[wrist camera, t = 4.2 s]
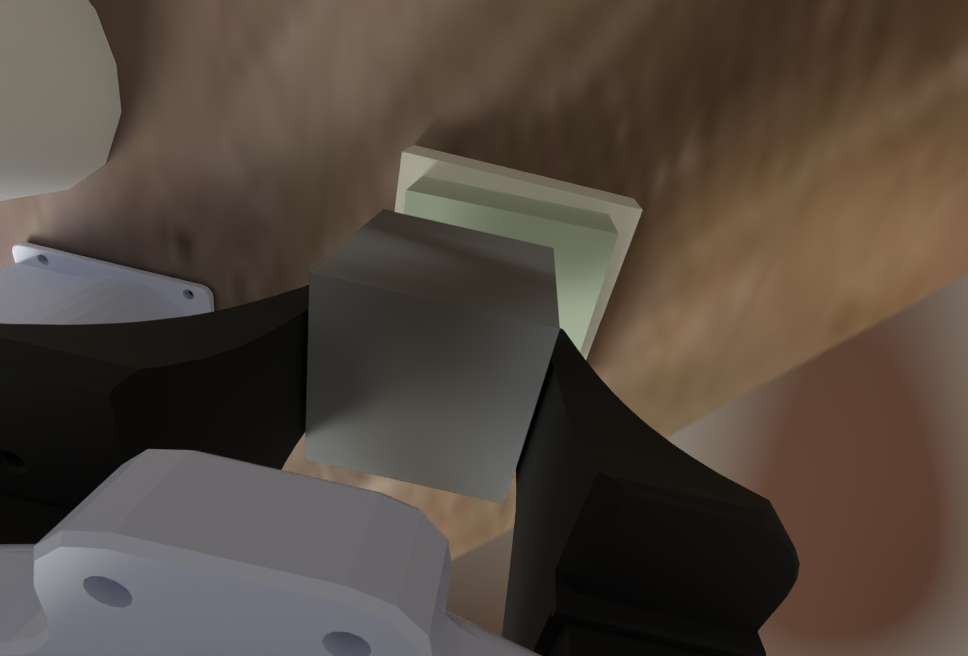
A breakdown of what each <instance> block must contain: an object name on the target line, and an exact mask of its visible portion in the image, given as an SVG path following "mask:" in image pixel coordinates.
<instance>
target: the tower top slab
mask: <svg viewBox="0 0 968 656" xmlns="http://www.w3.org/2000/svg"><path fill="white" fill-rule="evenodd" d="M404 214H406V215H411V216H415V217H420V218H424V219H429V220H433V221H437V222H442V223H446V224H451V225H455V226H459V227H464V228H468V229H473V230H477V231H481V232H486V233H490V234H495V235H499V236H503V237H508V238H512V239H517V240H521V241H525V242H530V243H534V244H539V245H543V246H547V247H552V248H554V261H555V273H556V286H557V298H558V311H559V324H560V328H561V329H563V330H564V331H565V332H566V333H567V335H568V336H569V338H570V339H571V340H572V342H573V343H574V345H575V346H576V347H577V349H578V350H579V352H580V351H581V348H582V345H583V342H584V339H585V336H586V333H587V330H588V326H589V323H590V320H591V317H592V314H593V311H594V308H595V305H596V302H597V299H598V296H599V293H600V290H601V286H602V283H603V280H604V277H605V274H606V271H607V268H608V265H609V262H610V259H611V256H612V253H613V250H614V247H615V243H616V240H617V237H618V232H617V230H616V228H615V226H614V224H613V222H612V220H611V218H610V216H609V214H605V213H600V212H595V211H591V210H586V209H581V208H576V207H571V206H566V205H562V204H557V203H552V202H547V201H542V200H538V199H533V198H528V197H523V196H518V195H513V194H509V193H504V192H499V191H494V190H489V189H484V188H480V187H475V186H470V185H465V184H460V183H455V182H451V181H446V180H441V179H436V178H431V177H426V176H422V177H420V178H419V179H418V180H417V181H416V182H415V183H413V184H412V185H411V186H410V187H409V188H408V189H406V194H405V204H404Z"/></svg>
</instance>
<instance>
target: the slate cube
mask: <svg viewBox="0 0 968 656" xmlns="http://www.w3.org/2000/svg"><path fill="white" fill-rule="evenodd" d="M559 330H560V324H559V311H558V298H557V286H556V273H555V261H554V248H552V247H547V246H543V245H539V244H534V243H530V242H525V241H521V240H517V239H512V238H508V237H503V236H499V235H495V234H490V233H486V232H481V231H477V230H473V229H468V228H464V227H459V226H455V225H451V224H446V223H442V222H437V221H433V220H429V219H424V218H420V217H415V216H411V215H406V214H402V213H398V212H393V211H389V210H384V209H383V210H382V211H381V212H380V213H378V214H377V215H376V216H375V217H374V218H373V219H371V220H370V221H369V222H368V223H367V224H366V225H364V226H363V227H362V228H361V229H360V230H358V231H357V232H356V233H355V234H354V235H353V236H351V237H350V238H349V239H348V240H347V241H346V242H344V243H343V244H342V245H341V246H340V247H338V248H337V249H336V250H335V251H334V252H333V253H331V254H330V255H329V256H328V257H327V258H326V259H324V260H323V261H322V262H321V263H320V264H318V265H317V266H316V267H315V268H314V269H313V270H311V271H310V277H309V316H308V356H307V396H306V436H305V459H307V460H311V461H316V462H320V463H325V464H329V465H333V466H338V467H342V468H347V469H351V470H356V471H360V472H364V473H369V474H373V475H378V476H382V477H387V478H391V479H395V480H400V481H404V482H409V483H413V484H418V485H422V486H426V487H431V488H435V489H440V490H444V491H449V492H453V493H457V494H462V495H466V496H471V497H475V498H480V499H484V500H488V501H493V502H497V503H502V504H505V501H506V498H507V495H508V492H509V488H510V485H511V482H512V479H513V476H514V473H515V469H516V466H517V463H518V460H519V457H520V454H521V450H522V447H523V444H524V441H525V438H526V435H527V431H528V428H529V425H530V422H531V419H532V416H533V412H534V409H535V406H536V403H537V400H538V397H539V393H540V390H541V387H542V384H543V381H544V378H545V374H546V371H547V368H548V365H549V362H550V359H551V355H552V352H553V349H554V346H555V343H556V340H557V336H558V333H559Z"/></svg>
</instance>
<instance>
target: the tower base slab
mask: <svg viewBox="0 0 968 656" xmlns="http://www.w3.org/2000/svg"><path fill="white" fill-rule="evenodd" d="M422 176H426V177H431V178H436V179H441V180H446V181H451V182H455V183H460V184H465V185H470V186H475V187H480V188H484V189H489V190H494V191H499V192H504V193H509V194H513V195H518V196H523V197H528V198H533V199H538V200H542V201H547V202H552V203H557V204H562V205H566V206H571V207H576V208H581V209H586V210H591V211H595V212H600V213H605V214H609V216H610V218H611V220H612V222H613V224H614V226H615V228H616V230H617V232H618V237H617V240H616V243H615V247H614V250H613V253H612V256H611V259H610V262H609V265H608V268H607V271H606V274H605V277H604V280H603V283H602V286H601V290H600V293H599V296H598V299H597V302H596V305H595V308H594V311H593V314H592V317H591V320H590V323H589V326H588V330H587V333H586V336H585V339H584V342H583V345H582V348H581V351H580V353H581V354H582V356H583V357H584V358H585V360H586V359H587V356H588V354H589V351H590V348H591V346H592V343H593V340H594V338H595V335H596V332H597V330H598V327H599V325H600V322H601V319H602V317H603V314H604V311H605V309H606V306H607V303H608V301H609V298H610V295H611V293H612V290H613V288H614V285H615V282H616V280H617V277H618V274H619V272H620V269H621V266H622V264H623V261H624V258H625V256H626V253H627V250H628V248H629V245H630V243H631V240H632V237H633V235H634V232H635V229H636V227H637V224H638V221H639V219H640V216H641V213H642V211H643V210H642V208H641V207H640V206H639V204H638V203H637V202H636V201H635V199H634V198H630V197H626V196H622V195H618V194H614V193H610V192H605V191H601V190H597V189H593V188H589V187H585V186H581V185H577V184H573V183H569V182H564V181H560V180H556V179H552V178H548V177H544V176H540V175H536V174H532V173H528V172H523V171H519V170H515V169H511V168H507V167H503V166H499V165H495V164H491V163H486V162H482V161H478V160H474V159H470V158H466V157H462V156H458V155H454V154H450V153H445V152H441V151H437V150H433V149H429V148H425V147H421V146H417V145H413V146H411V147H409V148H407V149H406V150H404V151H402V155H401V163H400V171H399V179H398V187H397V195H396V203H395V211H394V212H398V213H402V214H404V204H405V194H406V189H408V188H409V187H410V186H411V185H412V184H413V183H415V182H416V181H417V180H418V179H419V178H420V177H422Z"/></svg>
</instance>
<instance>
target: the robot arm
mask: <svg viewBox="0 0 968 656" xmlns="http://www.w3.org/2000/svg"><path fill="white" fill-rule="evenodd" d="M12 250H13V255H14V259H15V263H16V264H14V265H11V266H8V267H6V268H3V269H0V656H766V652H765V650H764V647H763V645H762V642H761V639H760V637H759V634H758V632H757V631H758V630H759V629H760V627H761V626H762V625H763V624H764V623H765V622H766V620H767V619H768V618H769V617H770V616H771V614H772V613H773V612H774V611H775V610H776V609H777V607H778V606H779V605H780V604H781V603H782V602H783V600H784V599H785V598H786V597H787V595H788V594H789V592H790V590H791V589H792V587H793V585H794V583H795V582H796V580H797V577H798V570H799V560H798V556H797V553H796V550H795V547H794V545H793V543H792V541H791V539H790V537H789V536H788V534H787V532H786V530H785V528H784V526H783V524H782V523H781V521H780V519H779V517H778V516H777V513H776V512H775V510H774V508H773V506H772V505H771V503H770V501H769V500H767V499H766V498H764V497H762V496H760V495H758V494H756V493H754V492H752V491H750V490H749V489H746V488H745V487H743V486H741V485H739V484H737V483H735V482H733V481H732V480H730V479H728V478H726V477H724V476H722V475H720V474H719V473H717V472H715V471H714V470H712V469H710V468H709V467H707V466H705V465H704V464H702V463H701V462H699V461H697V460H696V459H694V458H693V457H691V456H690V455H688V454H687V453H685V452H684V451H682V450H681V449H679V448H678V447H676V446H675V445H673V444H672V443H671V442H669V441H668V440H667V439H665V438H664V437H663V436H662V435H660V434H659V433H658V432H656V431H655V430H654V429H652V428H651V427H650V426H649V425H647V424H646V423H645V422H644V421H643V420H641V419H640V418H639V417H638V416H637V415H636V414H635V413H634V412H633V411H631V410H630V409H629V408H628V407H627V406H626V405H625V404H624V403H623V402H622V401H621V400H620V399H619V398H618V397H617V396H616V395H615V394H614V393H613V392H612V391H611V390H610V389H609V388H608V386H607V385H606V384H605V383H604V382H603V381H602V380H601V379H600V377H599V376H598V375H597V374H596V373H595V371H594V370H593V369H592V368H591V366H590V365H589V364H588V362H587V361H586V360H585V358H584V357H583V356H582V354H581V353H580V352H579V350H578V349H577V347H576V346H575V345H574V343H573V342H572V340H571V339H570V338H569V336H568V335H567V333H566V332H565V331H564V330H563V329H561V328H560V330H559V333H558V336H557V340H556V343H555V346H554V349H553V352H552V355H551V359H550V362H549V365H548V368H547V371H546V374H545V378H544V381H543V384H542V387H541V390H540V393H539V397H538V400H537V403H536V406H535V409H534V412H533V416H532V419H531V422H530V425H529V428H528V431H527V435H526V438H525V441H524V444H523V447H522V450H521V454H520V457H519V460H518V463H517V466H516V513H515V523H514V533H513V544H512V553H511V562H510V571H509V581H508V589H507V598H506V606H505V614H504V622H503V631H502V637H501V636H499V635H497V634H495V633H493V632H491V631H489V630H486V629H484V628H482V627H480V626H478V625H476V624H474V623H472V622H469V621H467V620H465V619H463V618H461V617H459V616H457V615H454V614H452V613H450V612H448V611H446V610H445V604H446V599H447V594H448V588H449V582H450V577H451V571H452V565H451V558H450V551H449V543H448V539H447V538H446V537H445V536H444V535H443V534H442V533H441V532H440V530H439V529H438V528H437V527H436V526H435V525H434V524H433V523H432V522H431V521H430V520H429V519H428V518H427V517H426V516H425V514H424V513H423V512H422V511H421V510H419V509H418V508H416V507H413V506H411V505H409V504H406V503H404V502H402V501H399V500H397V499H395V498H392V497H390V496H388V495H385V494H383V493H380V492H376V491H371V490H367V489H362V488H358V487H354V486H349V485H345V484H340V483H336V482H332V481H327V480H323V479H319V478H314V477H310V476H305V475H301V474H297V473H292V472H288V471H283V470H281V469H282V468H283V466H284V464H285V462H286V460H287V459H288V457H289V455H290V454H291V452H292V451H293V449H294V447H295V446H296V444H297V443H298V441H299V440H300V439H301V437H302V436H303V434H304V433H305V431H306V396H307V356H308V316H309V285H307V286H304V287H301V288H298V289H295V290H292V291H289V292H286V293H283V294H280V295H276V296H273V297H269V298H266V299H262V300H259V301H255V302H252V303H248V304H244V305H241V306H237V307H233V308H228V309H223V310H219V311H214V298H213V293H212V291H211V290H210V289H209V288H208V287H207V286H204V285H202V284H197V283H193V282H189V281H185V280H181V279H177V278H172V277H168V276H164V275H160V274H156V273H152V272H147V271H143V270H139V269H135V268H131V267H127V266H122V265H118V264H114V263H110V262H106V261H102V260H97V259H93V258H89V257H85V256H81V255H77V254H72V253H68V252H64V251H60V250H56V249H52V248H47V247H43V246H39V245H35V244H31V243H27V242H22V243H19V244H16V245H14V246H13V248H12ZM188 290H190V291H191V292H192V293H193V295H194V296H193V295H191V294H190V293H189V291H188Z"/></svg>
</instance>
